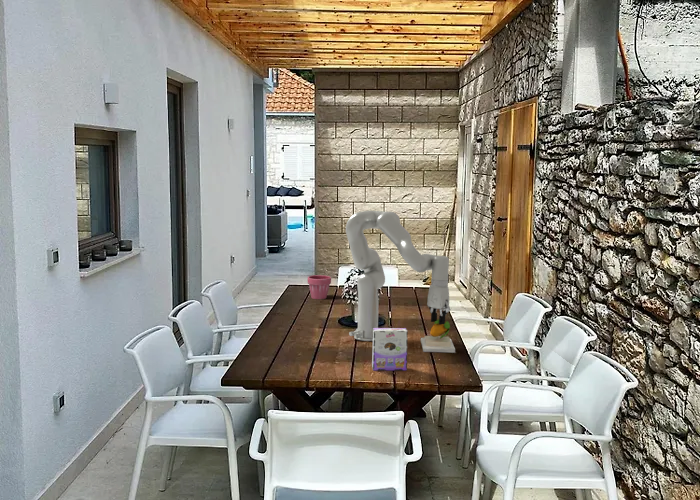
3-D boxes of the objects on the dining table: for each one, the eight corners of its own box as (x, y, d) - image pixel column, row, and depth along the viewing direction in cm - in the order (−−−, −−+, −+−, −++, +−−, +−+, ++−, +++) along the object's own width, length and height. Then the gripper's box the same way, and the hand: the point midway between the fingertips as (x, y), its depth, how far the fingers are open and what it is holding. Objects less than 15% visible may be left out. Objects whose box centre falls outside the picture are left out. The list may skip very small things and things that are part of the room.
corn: (452, 316, 351) (441, 325, 332) (452, 332, 351) (441, 342, 333) (436, 316, 353) (425, 324, 335) (437, 332, 354) (425, 341, 336)
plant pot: (317, 301, 447) (317, 279, 445) (302, 297, 457) (302, 276, 455) (335, 298, 456) (335, 277, 455) (320, 294, 466) (320, 274, 465)
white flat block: (455, 352, 334) (455, 344, 334) (423, 351, 335) (423, 343, 334) (450, 341, 354) (450, 334, 354) (420, 340, 354) (421, 333, 354)
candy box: (405, 367, 309) (406, 327, 307) (406, 371, 303) (408, 331, 301) (371, 366, 309) (372, 327, 307) (372, 370, 303) (373, 330, 301)
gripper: (420, 281, 345) (419, 320, 348) (446, 286, 332) (444, 327, 334) (433, 279, 350) (431, 318, 352) (458, 285, 336) (456, 325, 338)
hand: (437, 322), depth 343 cm, fingers closed on corn, 4 cm apart
